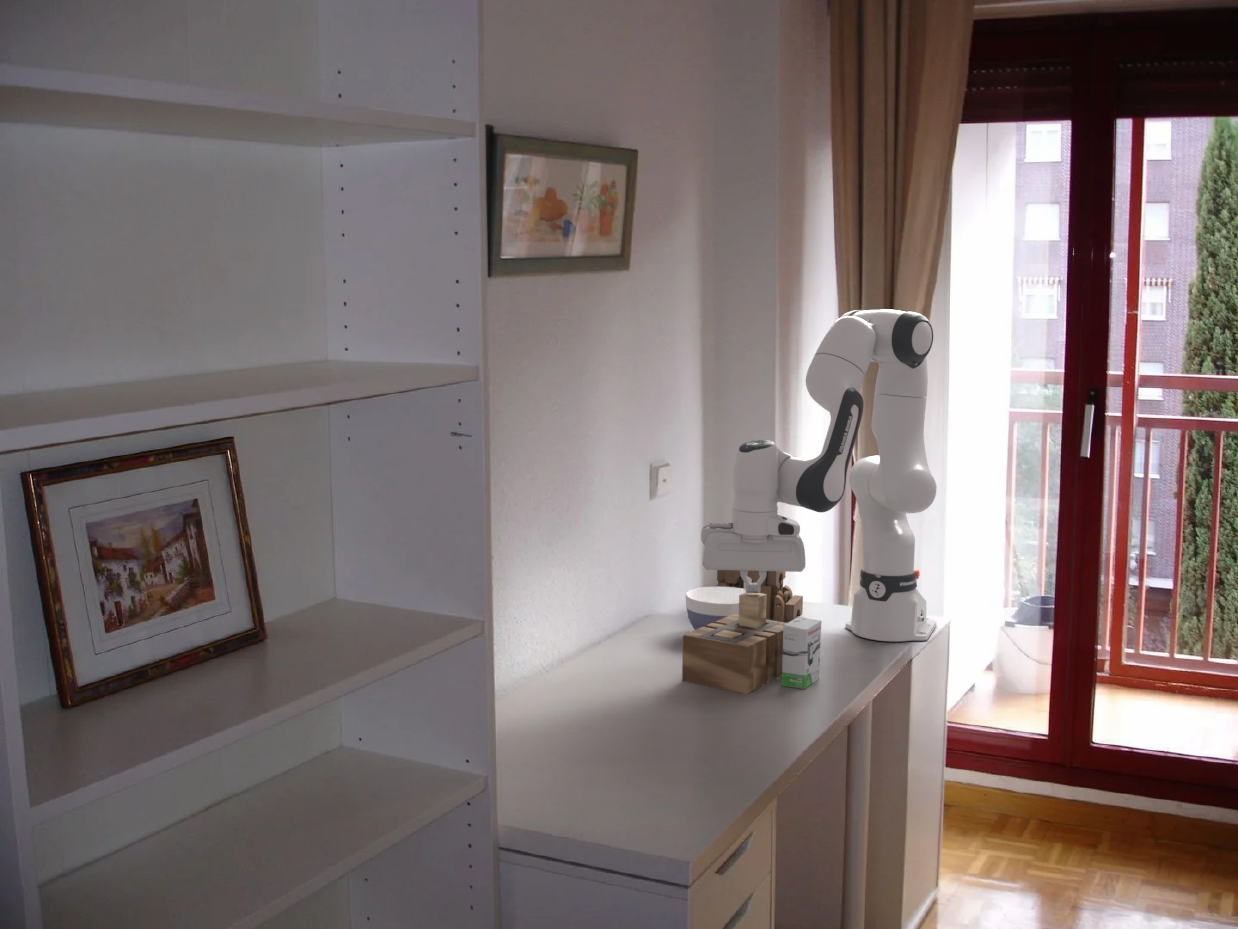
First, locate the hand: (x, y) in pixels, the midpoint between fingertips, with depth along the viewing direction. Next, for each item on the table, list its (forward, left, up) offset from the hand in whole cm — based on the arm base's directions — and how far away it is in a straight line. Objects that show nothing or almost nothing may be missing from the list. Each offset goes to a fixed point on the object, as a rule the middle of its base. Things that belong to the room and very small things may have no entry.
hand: (752, 592), depth 242 cm
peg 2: (0, 0, -10) cm, 10 cm away
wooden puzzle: (-39, -20, -16) cm, 47 cm away
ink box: (+2, +12, -16) cm, 20 cm away
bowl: (-17, -16, -16) cm, 28 cm away
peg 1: (+10, 0, -15) cm, 18 cm away
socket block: (+5, 0, -16) cm, 16 cm away
